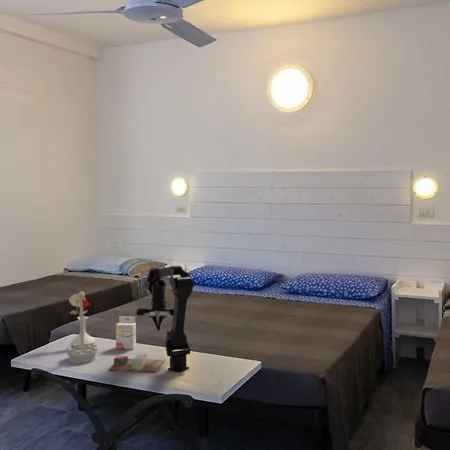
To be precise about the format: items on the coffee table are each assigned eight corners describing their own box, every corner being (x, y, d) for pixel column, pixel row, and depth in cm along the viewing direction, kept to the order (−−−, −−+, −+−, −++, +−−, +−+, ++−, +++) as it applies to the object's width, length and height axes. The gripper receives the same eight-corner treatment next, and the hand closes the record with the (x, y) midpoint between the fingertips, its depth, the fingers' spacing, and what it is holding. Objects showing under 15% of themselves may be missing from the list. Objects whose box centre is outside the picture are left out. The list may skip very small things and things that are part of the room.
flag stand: (60, 361, 245) (59, 292, 244) (81, 353, 257) (79, 288, 255) (83, 365, 239) (82, 295, 238) (103, 357, 251) (102, 290, 249)
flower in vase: (99, 343, 273) (98, 292, 272) (87, 350, 263) (86, 296, 261) (76, 341, 277) (75, 291, 276) (63, 347, 267) (61, 295, 265)
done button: (125, 361, 239) (125, 356, 239) (123, 363, 236) (123, 358, 236) (118, 361, 240) (118, 355, 240) (116, 363, 237) (116, 358, 237)
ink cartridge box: (115, 349, 264) (115, 318, 263) (118, 346, 269) (118, 315, 268) (133, 349, 263) (133, 318, 262) (136, 346, 268) (135, 316, 267)
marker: (139, 360, 243) (139, 352, 243) (146, 360, 242) (146, 353, 242) (132, 368, 232) (132, 360, 232) (139, 368, 231) (139, 360, 231)
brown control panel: (164, 361, 244) (164, 353, 243) (156, 372, 229) (155, 364, 228) (119, 360, 246) (119, 352, 246) (108, 370, 231) (108, 362, 231)
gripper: (182, 292, 256) (182, 326, 257) (141, 292, 258) (142, 325, 258) (178, 297, 245) (178, 332, 246) (135, 296, 247) (136, 331, 247)
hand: (158, 330), depth 250 cm, fingers closed
